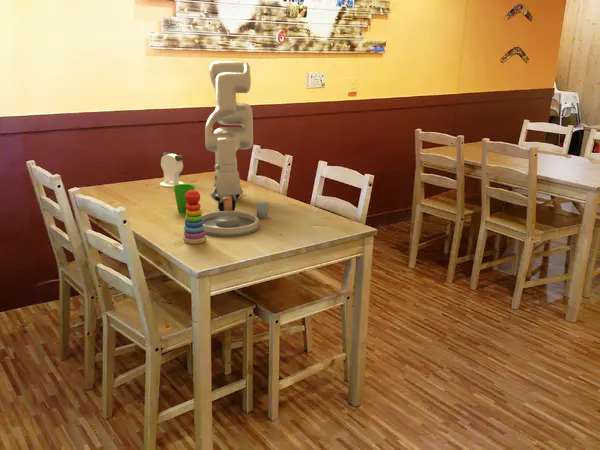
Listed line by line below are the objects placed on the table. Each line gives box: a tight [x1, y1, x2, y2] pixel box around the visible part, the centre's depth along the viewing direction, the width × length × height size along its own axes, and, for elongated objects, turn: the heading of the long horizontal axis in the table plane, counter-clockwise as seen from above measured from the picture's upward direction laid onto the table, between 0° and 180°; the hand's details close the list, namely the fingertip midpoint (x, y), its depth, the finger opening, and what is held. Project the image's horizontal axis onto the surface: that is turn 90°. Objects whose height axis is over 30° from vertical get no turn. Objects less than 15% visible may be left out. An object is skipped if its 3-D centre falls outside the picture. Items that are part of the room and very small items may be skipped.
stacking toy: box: [182, 189, 207, 245], centre depth 204 cm, size 8×8×19 cm
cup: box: [172, 183, 196, 215], centre depth 239 cm, size 9×9×11 cm
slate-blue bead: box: [256, 201, 269, 220], centre depth 236 cm, size 4×4×6 cm
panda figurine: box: [159, 151, 185, 188], centre depth 283 cm, size 12×11×15 cm
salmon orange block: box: [222, 197, 233, 211], centre depth 241 cm, size 4×4×6 cm
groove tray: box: [201, 210, 260, 238], centre depth 223 cm, size 24×24×3 cm
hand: (227, 210), depth 242 cm, fingers closed on salmon orange block, 4 cm apart
